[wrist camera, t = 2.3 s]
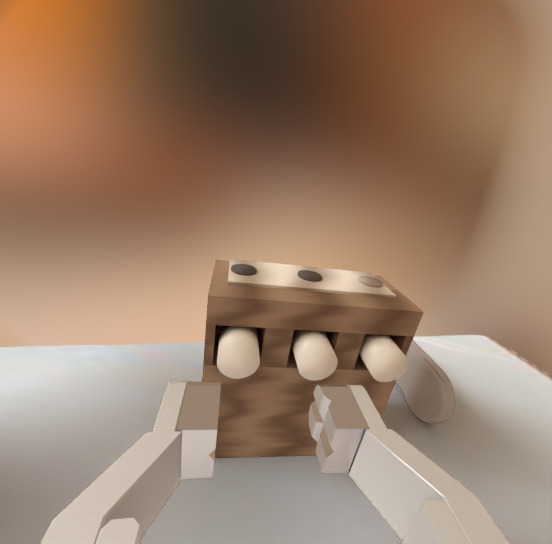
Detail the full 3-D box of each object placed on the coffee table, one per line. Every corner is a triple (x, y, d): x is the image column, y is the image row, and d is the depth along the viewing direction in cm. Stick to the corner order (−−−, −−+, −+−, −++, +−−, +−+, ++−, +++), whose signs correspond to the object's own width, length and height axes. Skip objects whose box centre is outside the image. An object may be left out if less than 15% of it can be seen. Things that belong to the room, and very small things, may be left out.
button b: (366, 381, 26) (377, 350, 24) (350, 353, 29) (359, 325, 28) (400, 382, 26) (413, 352, 25) (381, 355, 30) (391, 327, 29)
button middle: (294, 380, 25) (302, 347, 23) (287, 351, 28) (293, 321, 27) (332, 381, 25) (341, 349, 24) (320, 352, 29) (328, 323, 28)
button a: (215, 378, 23) (218, 343, 22) (218, 348, 27) (221, 317, 26) (257, 379, 24) (262, 345, 23) (254, 349, 28) (259, 319, 26)
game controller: (443, 436, 38) (467, 390, 35) (428, 436, 37) (452, 390, 34) (374, 346, 55) (387, 310, 52) (364, 345, 55) (376, 310, 52)
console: (197, 458, 30) (208, 290, 22) (205, 396, 38) (216, 255, 30) (366, 453, 33) (425, 307, 26) (342, 397, 41) (382, 272, 34)
